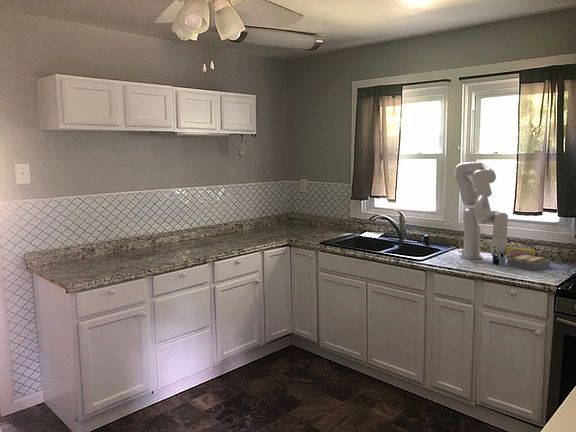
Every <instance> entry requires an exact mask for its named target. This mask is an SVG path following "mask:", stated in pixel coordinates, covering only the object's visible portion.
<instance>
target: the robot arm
mask: <svg viewBox="0 0 576 432" xmlns="http://www.w3.org/2000/svg"><path fill="white" fill-rule="evenodd" d="M469 176H471V179H472V180H471V179H470V178H469ZM454 178H455V181H456V183H457V186H458V189H459V194H460V197H461V202H462V204H463V205H464V206H466V207H468V208H466V209H465V210H464V211H463V213H462V216H463V217H462V219H463V225H464V228H463V229H464V231H463V233H464V234H463V248H460V249H459V250H458V253H459V254H461V255H460V258H463V259H465V260H481V259H483V255H481V254H480V253H481V233H482V232H481V226H480V225H479V224H481V225H492V226H493V227H492V238H491V242H490V254H491V256H492V258H493V264H492V265H495V266H500V265H499V259H498V257H499V256H502V257H505V258H506V252H507V247H508V220H509V215H508V214H507V213H506V212H500V211H496V210H491V205H490V201H489V197H491V196H492V194H493V191H492V188H491V184H493V183H494V182H495V181H496V179H497V175H496V173H495V171H494V169H492V168H490V167H489V166H488V165H486V164H485V163H483V162H480V161H469V162H468V161H467V162H466V161H465V162H460V163H459V164H457V165H456V167H455V169H454Z"/></svg>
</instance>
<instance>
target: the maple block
mask: <svg viewBox="0 0 576 432" xmlns="http://www.w3.org/2000/svg"><path fill="white" fill-rule="evenodd" d="M545 259H546V258H545V257H540V256H530V255H521V256H517V257H513V260H518V261H524V262H529V263H538V262H541V261H545Z"/></svg>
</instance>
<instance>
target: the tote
mask: <svg viewBox="0 0 576 432" xmlns="http://www.w3.org/2000/svg"><path fill="white" fill-rule="evenodd" d="M550 266H551V259H547V258H545V261H541V262H538V263H529V262H524V261H518V260H513V258H510V259H507V267H511V268H516V269H522V270H527V271H531V272H537V271H540V270H544V269H547V268H550Z"/></svg>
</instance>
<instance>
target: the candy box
mask: <svg viewBox="0 0 576 432" xmlns="http://www.w3.org/2000/svg"><path fill="white" fill-rule="evenodd" d="M521 255H530V256H535V255H536V250H535V249H529V248H528V249H527V248H521V247H513V246H507V252H506V254H505V260H506V259H507V260H508V259H510V258H513V257H517V256H521ZM535 257H536V256H535Z"/></svg>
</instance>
